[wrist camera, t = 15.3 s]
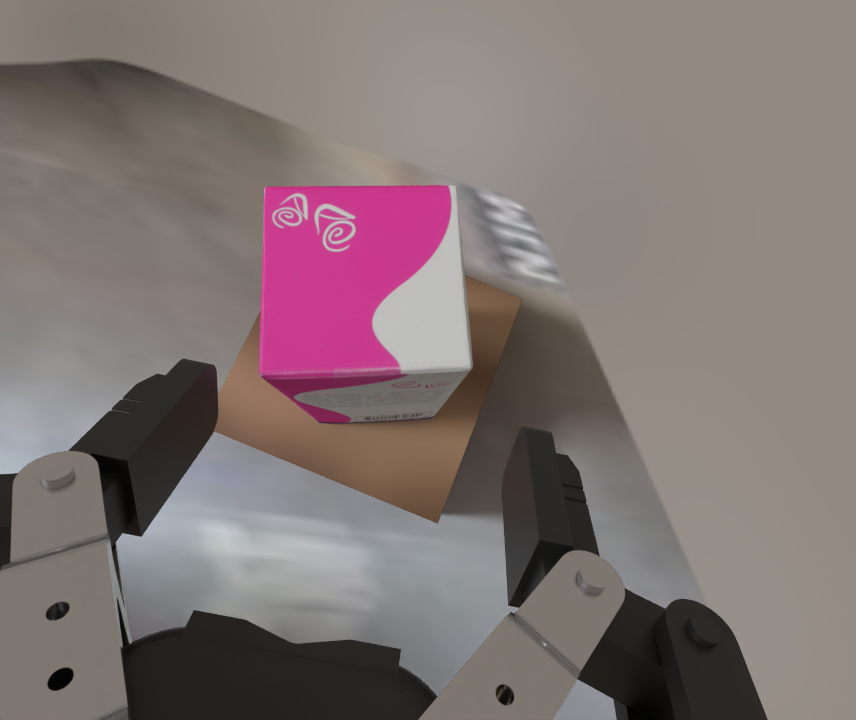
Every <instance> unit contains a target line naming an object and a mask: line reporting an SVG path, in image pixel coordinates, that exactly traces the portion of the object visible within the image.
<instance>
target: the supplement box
mask: <svg viewBox="0 0 856 720" xmlns="http://www.w3.org/2000/svg"><path fill="white" fill-rule="evenodd" d="M472 368H473V360H472V346H471V335H470V325H469V314H468V303H467V293H466V283H465V273H464V261H463V251H462V241H461V231H460V222H459V212H458V200H457V187H456V186H454V185H447V186H440V185H429V186H300V187H265V189H264V235H263V262H262V292H261V318H260V346H259V376H260V377H261V378H263V379H264V380H265V381H267V382H268V383H269V384H271V385H272V386H273V387H275V388H276V389H277V390H279V391H280V392H281V393H283V394H284V395H285V396H286V397H288V398H289V399H290V400H291V401H292V402H294V403H295V404H296V405H298V406H299V407H300V408H301V409H303V410H304V411H305V412H307V413H308V414H309V415H310V416H312V417H313V418H314V419H315V420H316V421H318V422H319V423H362V422H383V421H402V420H417V419H432V418H434V415H435V414H436V413H437V412H438V411H439V409H440V408H441V407H442V406H443V404H444V403H445V402H446V401H447V399H448V398H449V397H450V395H451V394H452V393H453V392H454V390H455V389H456V388H457V387H458V385H459V384H460V383H461V382H462V380H463V379H464V378H465V377H466V376H467V374H468V373H469V372H470V371H471V369H472Z"/></svg>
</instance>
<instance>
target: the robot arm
mask: <svg viewBox="0 0 856 720" xmlns="http://www.w3.org/2000/svg"><path fill="white" fill-rule="evenodd" d="M217 420H218V390H217V371H216V368H215V366H214V365H212V364H207V363H202V362H197V361H192V360H187V359H182V360H180V361H179V362H178V363H177V364H176V365H175V366H174V367H173V368H172V369H171V370H170V371H169V372H168V374H167V375H166V376H165V375H160V374H156V375H154V376H152V377H150V378H148V379H146V380H144V381H142V382H140V383H138V384H136V385H135V386H134V387H133V388H132V389H131V390H130V391H129V392H128V393H127V394H126V395H125V396H124V397H123V400H120V401H119V402H118V403H117V404H116V405H115V406H114V407H113V408H112V410H111V411H109V412H108V413H107V414H106V415H104V416H103V417H102V418H101V419H100V420H99V421H98V422H97V423H96V424H95V425H94V426H93V427H92V428H91V429H90V430H89V431H88V432H87V433H86V434H85V435H84V436H83V437H82V438H81V439H80V440H79V441H78V442H77V443H76V444H75V445H74V446H73V447H72V448H71V449H70V450H69V451H63V452H57V453H53V454H49V455H46V456H43V457H41V458H38V459H36V460H34V461H33V462H31V463H29V464H28V465H26V466H25V467H24V468H23V469H22V470H21V471H20V472H19V473H15V474H0V720H552V719H553V718H554V716H555V715H556V713H557V711H558V710H559V708H560V706H561V705H562V703H563V702H564V700H565V698H566V697H567V695H568V693H569V692H570V690H571V689H572V687H573V685H574V684H575V682H576V680H577V679H578V680H580V681H582V682H584V683H586V684H587V685H589V686H591V687H593V688H595V689H596V690H598V691H600V692H602V693H604V694H605V695H607V696H609V697H611V698H613V699H614V705H615V711H616V718H617V720H767V717H766V714H765V712H764V709H763V707H762V704H761V701H760V699H759V696H758V694H757V691H756V689H755V686H754V683H753V681H752V678H751V676H750V673H749V671H748V668H747V665H746V663H745V660H744V658H743V655H742V652H741V650H740V647H739V645H738V642H737V640H736V638H735V635H734V634H733V632H732V631H731V629H730V628H729V626H728V625H727V624H726V623H725V622H724V620H723V619H722V618H721V617H720V616H718V615H717V614H716V613H715V612H714V611H712V610H711V609H710V608H708V607H706V606H705V605H703V604H701V603H698V602H696V601H693V600H688V599H679V600H675V601H673V602H671V603H670V604H669V605H668V607H667V608H666V609H665V608H663V607H661V606H659V605H657V604H655V603H653V602H651V601H648V600H646V599H644V598H642V597H640V596H638V595H636V594H634V593H632V592H631V591H629V590H627V589H626V588H624V585H623V582H622V580H621V578H620V576H619V574H618V573H617V572H616V570H615V569H614V568H613V567H612V566H611V565H610V564H609V563H608V562H607V561H605V560H604V559H603V558H601V557H600V555H599V551H598V547H597V543H596V539H595V535H594V531H593V527H592V522H591V518H590V514H589V510H588V506H587V505H586V498H585V494H584V491H583V485H582V481H581V477H580V473H579V471H578V469H577V468H576V466H575V465H574V464H573V462H572V461H571V459H570V458H569V457H568V455H563V454H558V453H556V451H555V446H554V441H553V436H552V433H551V432H547V431H542V430H537V429H533V428H528V427H522V428H521V429H520V431H519V434H518V436H517V439H516V442H515V444H514V447H513V450H512V452H511V455H510V458H509V460H508V463H507V466H506V469H505V472H504V476H503V483H502V501H503V519H504V537H505V555H506V573H507V591H508V606H513V607H518V608H519V609H518V610H517V611H516V612H515V613H514V614H513V613H512V612H511V613H509V614H508V615H507V616H506V617H505V618H504V619H503V620H502V622H501V623H500V624H499V625H498V626H497V627H496V629H495V630H494V631H493V632H492V633H491V634H490V636H489V637H488V638H487V639H486V640H485V642H484V643H483V644H482V645H481V646H480V647H479V649H478V650H477V651H476V652H475V653H474V654H473V656H472V657H471V658H470V659H469V660H468V662H467V663H466V664H465V665H464V666H463V667H462V669H461V670H460V671H459V672H458V673H457V675H456V676H455V677H454V678H453V679H452V680H451V682H450V683H449V684H448V685H447V686H446V687H445V689H444V690H443V691H442V692H441V693H440V695H439V696H438V697H437V695H436V694H435V693H434V692H433V691H432V690H431V689H430V688H429V686H427V685H426V684H425V683H424V682H423V681H422V680H421V679H419V678H418V677H417V676H415V675H414V674H412V673H411V672H410V671H408V670H406V669H404V668H402V667H400V666H399V660H400V652H401V649H397V648H392V647H386V646H381V645H376V644H371V643H365V642H360V641H355V640H340V641H328V642H315V643H302V644H295V643H291V642H288V641H286V640H284V639H282V638H280V637H278V636H276V635H274V634H272V633H270V632H268V631H266V630H264V629H262V628H260V627H258V626H256V625H254V624H253V623H251V622H249V621H247V620H243V619H238V618H233V617H228V616H222V615H217V614H212V613H206V612H201V611H196V610H194V611H193V613H192V615H191V617H190V619H189V621H188V623H187V625H186V627H179V628H174V629H168V630H164V631H160V632H157V633H154V634H150V635H148V636H146V637H143V638H141V639H138V640H136V641H134V642H132V638H131V633H130V628H129V622H128V616H127V609H126V602H125V596H124V589H123V582H122V575H121V569H120V562H119V555H118V549H117V545H116V541H117V540H118V538H119V537H120V536H121V534H122V533H125V534H130V535H135V536H141V537H142V535H143V534H144V532H145V531H146V529H147V528H148V526H149V525H150V524H151V522H152V521H153V519H154V518H155V516H156V515H157V513H158V512H159V511H160V509H161V508H162V506H163V505H164V503H165V502H166V500H167V499H168V498H169V496H170V495H171V493H172V492H173V490H174V489H175V487H176V486H177V485H178V483H179V482H180V480H181V479H182V477H183V476H184V474H185V473H186V472H187V470H188V469H189V467H190V466H191V464H192V463H193V461H194V460H195V459H196V457H197V456H198V454H199V453H200V451H201V450H202V448H203V447H204V446H205V444H206V443H207V441H208V440H209V438H210V437H211V435H212V434H213V432H214V430H215V427H216V424H217Z"/></svg>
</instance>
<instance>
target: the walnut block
mask: <svg viewBox="0 0 856 720" xmlns="http://www.w3.org/2000/svg"><path fill="white" fill-rule="evenodd" d="M465 283H466V293H467V303H468V314H469V325H470V335H471V346H472V360H473V368H472V369H471V371H470V372H469V373H468V374H467V376H466V377H465V378H464V379H463V380H462V382H461V383H460V384H459V385H458V387H457V388H456V389H455V390H454V392H453V393H452V394H451V395H450V397H449V398H448V399H447V401H446V402H445V403H444V404H443V406H442V407H441V408H440V409H439V411H438V412H437V413H436V414H435V415H434V418H432V419H417V420H402V421H383V422H362V423H319V422H318V421H316V420H315V419H314V418H313V417H312V416H310V415H309V414H308V413H307V412H305V411H304V410H303V409H301V408H300V407H299V406H298V405H296V404H295V403H294V402H292V401H291V400H290V399H289V398H288V397H286V396H285V395H284V394H283V393H281V392H280V391H279V390H277V389H276V388H275V387H273V386H272V385H271V384H269V383H268V382H267V381H265V380H264V379H263V378H261V377H260V376H259V346H260V318H261V311H260V313H259V315H258V317H257V319H256V321H255V323H254V325H253V327H252V329H251V331H250V333H249V335H248V337H247V339H246V341H245V343H244V345H243V347H242V349H241V351H240V353H239V355H238V357H237V359H236V361H235V363H234V365H233V367H232V369H231V371H230V373H229V375H228V377H227V379H226V381H225V383H224V385H223V387H222V389H221V391H220V393H219V395H218V420H217V424H216V427H215V430H214V431H215V432H217V433H220V434H222V435H225V436H227V437H230V438H232V439H234V440H237V441H239V442H242V443H244V444H246V445H249V446H251V447H254V448H256V449H259V450H261V451H263V452H266V453H268V454H271V455H273V456H276V457H278V458H280V459H283V460H285V461H288V462H290V463H292V464H295V465H297V466H300V467H302V468H305V469H307V470H309V471H312V472H314V473H317V474H319V475H322V476H324V477H326V478H329V479H331V480H334V481H336V482H338V483H341V484H343V485H346V486H348V487H351V488H353V489H355V490H358V491H360V492H363V493H365V494H368V495H370V496H372V497H375V498H377V499H380V500H382V501H385V502H387V503H389V504H392V505H394V506H397V507H399V508H401V509H404V510H406V511H409V512H411V513H414V514H416V515H418V516H421V517H423V518H426V519H428V520H431V521H433V522H435V523H438V521H439V519H440V516H441V513H442V511H443V508H444V505H445V503H446V500H447V497H448V495H449V492H450V489H451V487H452V484H453V482H454V479H455V476H456V474H457V471H458V468H459V466H460V463H461V460H462V458H463V455H464V453H465V450H466V447H467V445H468V442H469V439H470V437H471V434H472V431H473V429H474V426H475V423H476V421H477V418H478V416H479V413H480V410H481V408H482V405H483V402H484V400H485V397H486V394H487V392H488V389H489V386H490V384H491V381H492V379H493V376H494V373H495V371H496V368H497V365H498V363H499V360H500V357H501V355H502V352H503V349H504V347H505V344H506V342H507V339H508V336H509V334H510V331H511V328H512V326H513V323H514V320H515V318H516V315H517V312H518V310H519V307H520V305H521V302H522V299H521V298H519V297H516V296H514V295H511V294H509V293H506V292H504V291H502V290H499V289H497V288H494V287H492V286H489V285H487V284H484V283H482V282H479V281H477V280H474V279H472V278H470V277H467V276H465Z"/></svg>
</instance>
